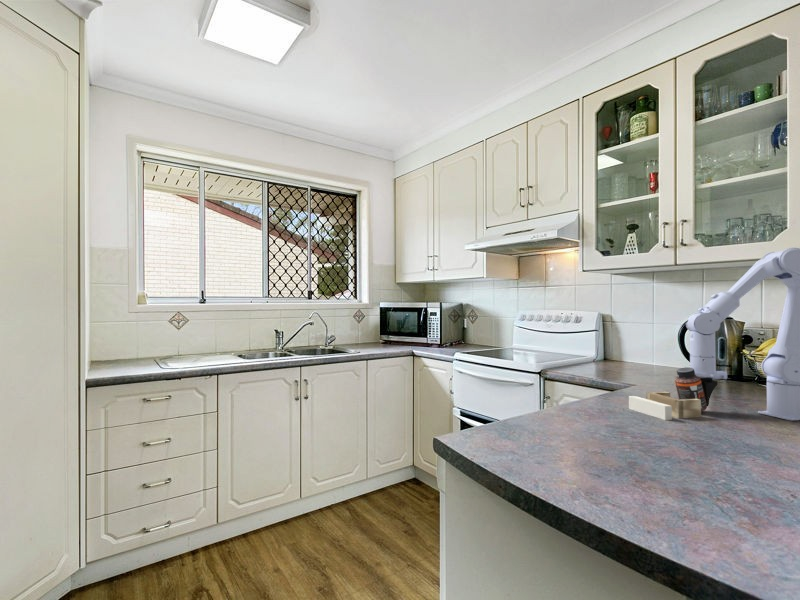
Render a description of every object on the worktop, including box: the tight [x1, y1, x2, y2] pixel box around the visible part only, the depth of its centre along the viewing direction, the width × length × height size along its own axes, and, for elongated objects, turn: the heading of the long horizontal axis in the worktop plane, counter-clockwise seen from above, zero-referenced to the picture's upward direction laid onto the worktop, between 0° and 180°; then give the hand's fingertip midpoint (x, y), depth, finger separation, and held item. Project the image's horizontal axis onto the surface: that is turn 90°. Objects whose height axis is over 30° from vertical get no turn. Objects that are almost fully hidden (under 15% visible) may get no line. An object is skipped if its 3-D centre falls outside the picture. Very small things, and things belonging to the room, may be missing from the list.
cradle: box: [645, 391, 702, 419], centre depth 111 cm, size 7×10×4 cm
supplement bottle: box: [674, 366, 708, 412], centre depth 112 cm, size 6×6×11 cm
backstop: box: [628, 395, 673, 421], centre depth 110 cm, size 2×12×4 cm, turn 13°
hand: (703, 405), depth 113 cm, fingers closed, pressing on supplement bottle
